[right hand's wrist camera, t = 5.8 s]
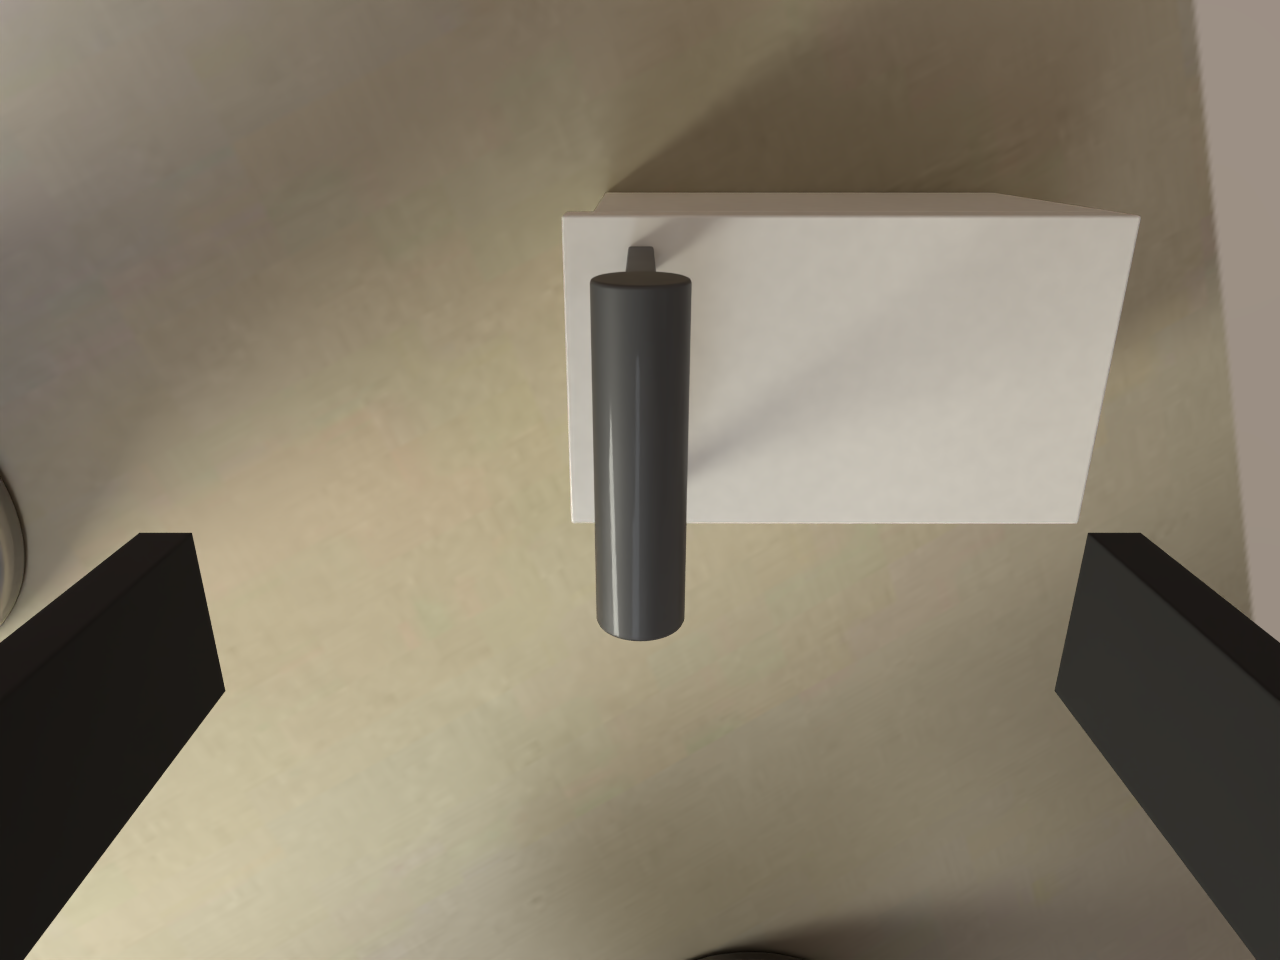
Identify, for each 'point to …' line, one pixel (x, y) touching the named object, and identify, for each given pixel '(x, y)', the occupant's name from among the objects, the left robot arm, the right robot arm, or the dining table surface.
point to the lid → (827, 376)
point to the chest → (829, 202)
